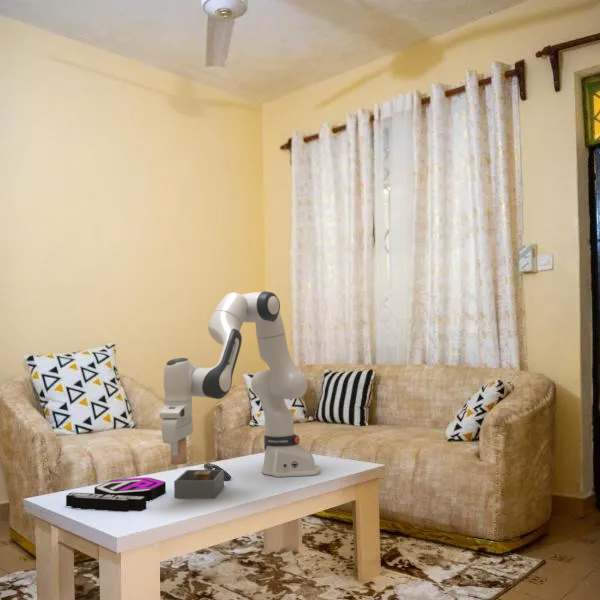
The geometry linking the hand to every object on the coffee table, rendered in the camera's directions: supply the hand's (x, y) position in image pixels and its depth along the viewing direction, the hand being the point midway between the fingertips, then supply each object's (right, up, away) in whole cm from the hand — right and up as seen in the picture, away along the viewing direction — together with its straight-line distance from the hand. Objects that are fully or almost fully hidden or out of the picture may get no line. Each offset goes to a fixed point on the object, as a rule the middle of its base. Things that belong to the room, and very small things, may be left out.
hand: (178, 452), depth 204 cm
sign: (-19, -17, +7) cm, 26 cm away
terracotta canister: (0, -3, 0) cm, 3 cm away
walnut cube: (+5, -16, +17) cm, 23 cm away
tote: (+5, -16, +13) cm, 21 cm away
